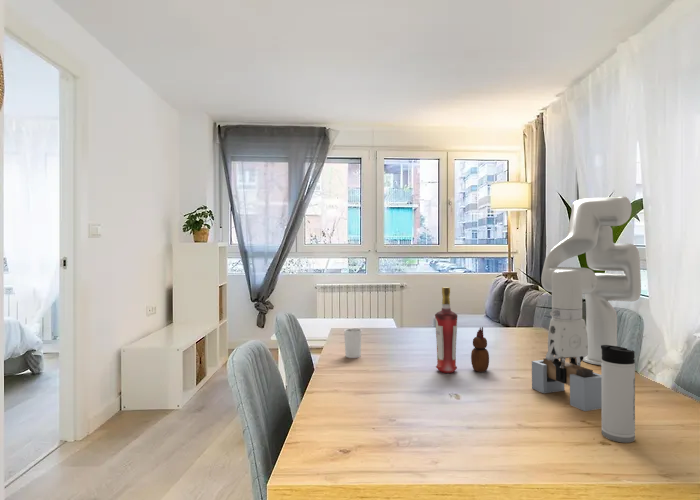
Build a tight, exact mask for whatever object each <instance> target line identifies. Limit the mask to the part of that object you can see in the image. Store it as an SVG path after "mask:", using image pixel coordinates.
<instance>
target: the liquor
mask: <svg viewBox="0 0 700 500" xmlns="http://www.w3.org/2000/svg"><path fill="white" fill-rule="evenodd" d="M441 294H442V302H441V310H439V311H438V312H436V313H435V314H434V320H435V322H434V323H435V337H436V360H437V362H436V363H437V364H436V366H435V368H436V369H437V370H438V371H439V372H440V373H444V374H452V373H454V372H455V371H456V370H457V369H458V366H457V364H456V363H457V361H456V360H457V358H456V356H457V355H456V354H457V337H458V336H457V334H458V333H457V332H458V314H457V313H456V312H454V311H452V310H451V309H452V308H451V301H450V300H451V299H450V295H451V287H449V286H443V287H441Z"/></svg>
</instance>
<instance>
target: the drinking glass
mask: <svg viewBox="0 0 700 500" xmlns="http://www.w3.org/2000/svg"><path fill="white" fill-rule="evenodd" d="M343 331H344V332H343V333H344V352H345V358H347V359H348V358H349V359H356V358H360V357H361V354H362V352H361V351H362V329H361V328H353V327H350V328H345V329H343Z"/></svg>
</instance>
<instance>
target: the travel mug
mask: <svg viewBox="0 0 700 500" xmlns="http://www.w3.org/2000/svg"><path fill="white" fill-rule="evenodd" d="M601 349H602V359H601V361H602V363H601V365H600V366H601V367H600V368H601V371H600V372H601V374H600V375H601V383H602V409H601V435H602V436H603V437H604V438H606V439H607V440H610V441H613V442H617V443H622V444H626V443H627V444H628V443H632V442H635V440H636V366H635V365H636V361H635V353H636V352H635V350H630V349H628V348H627V347H626V348H625V347H623V346H618V345H617V346H611V345H601Z"/></svg>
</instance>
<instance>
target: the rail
mask: <svg viewBox="0 0 700 500" xmlns="http://www.w3.org/2000/svg"><path fill="white" fill-rule="evenodd" d="M542 360H543V363H544V364H546V365H547V377H548V378H551V379H553V380H556V366H554V364H553V363H552V362H551V361H550V360H548V359H547V358H546V357H545V358H543V359H542ZM559 361H560V358H559ZM564 368H566V383H564V385H566V386H569V387H570V374H575V375H578V376H581V377H583V378H587V377H593V372H594V370H592V369H589V368H587V367H584V366H581V365H580V366H578V365H575V364H572V363H570V362H569V361H566V360H565V367H564ZM556 381H557V380H556ZM561 383H562V382H561Z"/></svg>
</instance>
